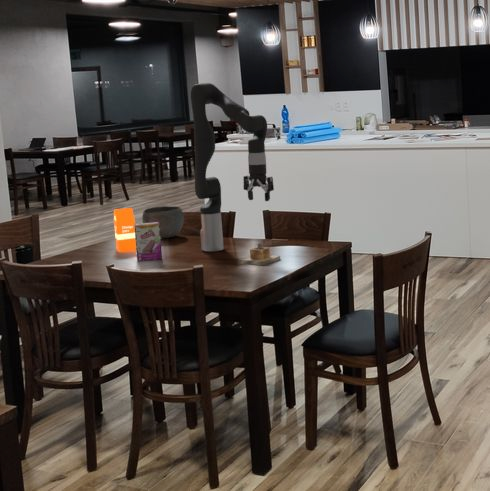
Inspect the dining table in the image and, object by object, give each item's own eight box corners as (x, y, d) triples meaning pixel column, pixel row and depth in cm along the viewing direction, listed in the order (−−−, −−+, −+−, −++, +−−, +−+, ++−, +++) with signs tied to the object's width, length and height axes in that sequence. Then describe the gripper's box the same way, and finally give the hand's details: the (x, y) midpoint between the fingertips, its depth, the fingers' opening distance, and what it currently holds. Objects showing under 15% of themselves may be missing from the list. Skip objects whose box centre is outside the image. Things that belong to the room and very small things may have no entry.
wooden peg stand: (240, 263, 362) (239, 244, 360) (257, 257, 371) (255, 239, 370) (264, 265, 355) (263, 246, 353) (280, 259, 364) (279, 241, 363)
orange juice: (116, 249, 412) (112, 208, 408) (134, 247, 414) (130, 206, 410) (119, 252, 404) (115, 210, 401) (137, 250, 407) (133, 208, 403)
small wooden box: (250, 258, 362) (249, 249, 361) (258, 255, 367) (257, 246, 366) (262, 259, 359) (261, 250, 358) (270, 256, 363) (269, 247, 363)
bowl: (156, 233, 449) (153, 205, 446) (192, 233, 441) (190, 205, 438) (136, 241, 430) (133, 211, 427) (174, 241, 422) (171, 211, 419)
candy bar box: (137, 262, 379) (134, 225, 376) (137, 260, 384) (133, 223, 381) (162, 259, 381) (159, 223, 378) (162, 257, 386) (158, 221, 383)
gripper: (238, 163, 368) (240, 201, 371) (265, 164, 360) (267, 202, 363) (248, 161, 374) (250, 198, 377) (275, 162, 365) (277, 199, 369)
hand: (259, 200), depth 370 cm, fingers open, 8 cm apart
